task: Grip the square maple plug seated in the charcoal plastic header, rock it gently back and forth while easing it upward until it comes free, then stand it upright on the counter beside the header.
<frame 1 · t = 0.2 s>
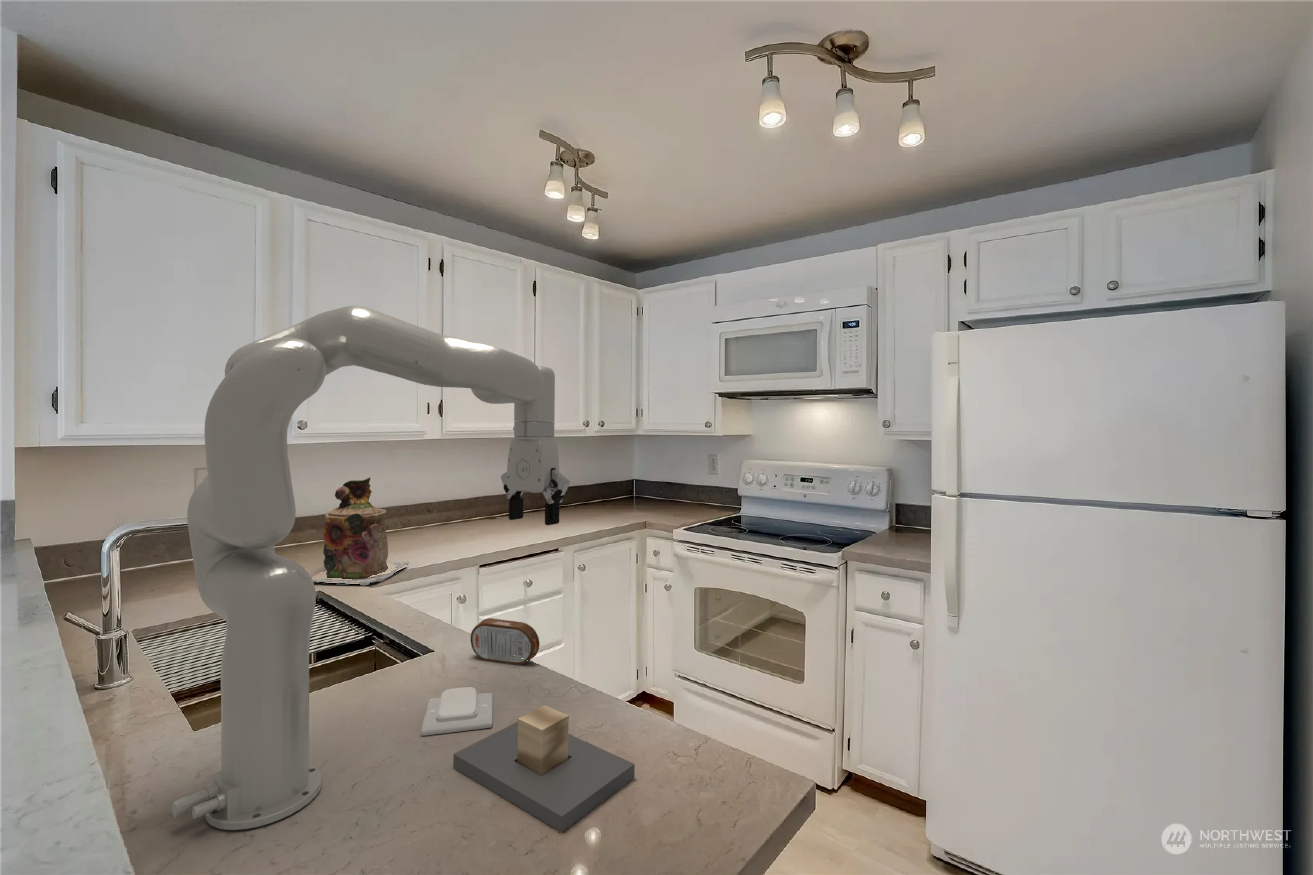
hand: (533, 521, 111), 31 cm above the counter, tool pointing down, fingers open, 9 cm apart
tin: (503, 662, 122), on the counter
cookie jar: (356, 576, 188), on the counter
light switch: (459, 718, 99), on the counter
header: (542, 772, 83), on the counter
plug: (542, 773, 83), resting in header
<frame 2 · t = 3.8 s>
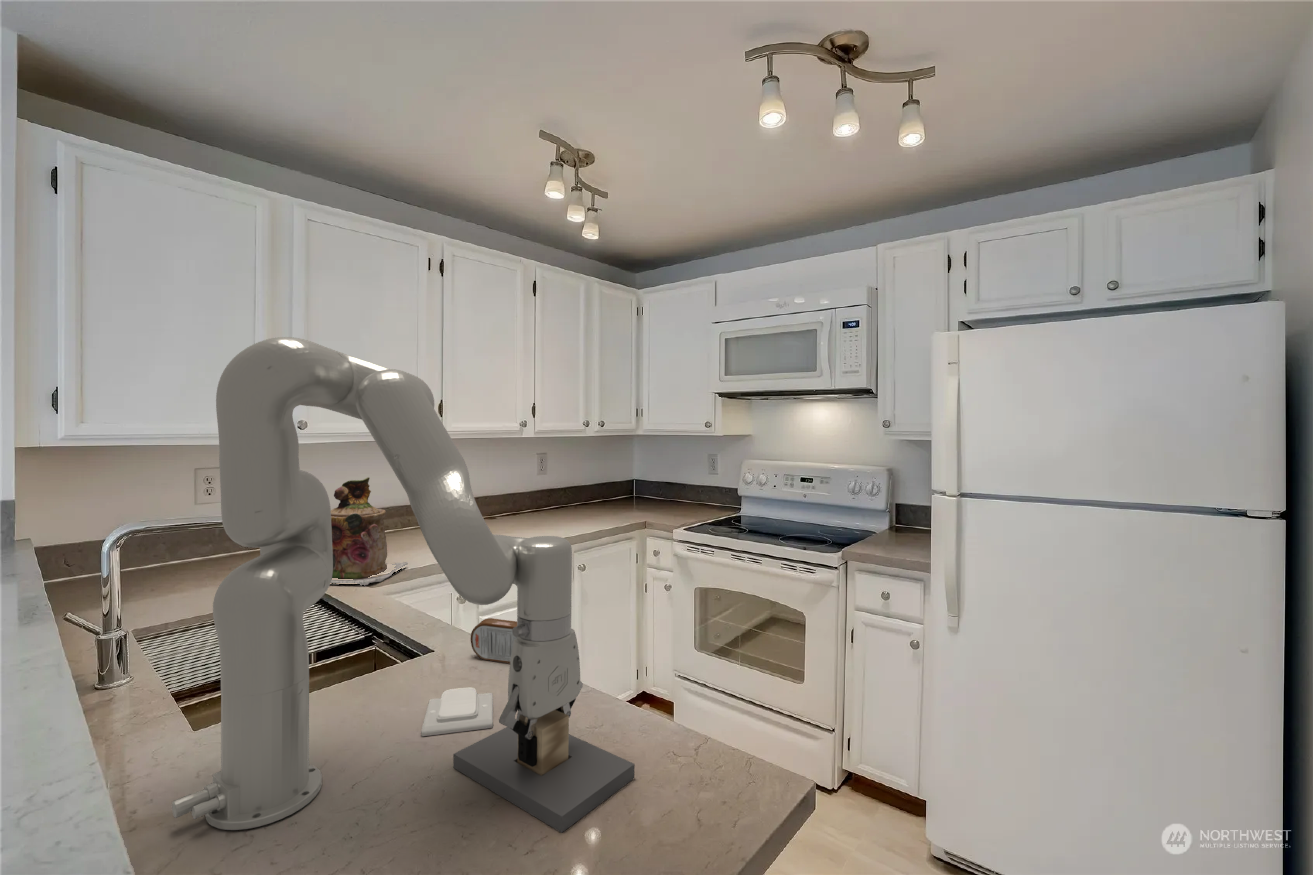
hand: (543, 752, 83), 3 cm above the counter, tool pointing down, fingers closed on plug, 5 cm apart
plug: (542, 772, 83), resting in header, touching gripper
everything else where it was.
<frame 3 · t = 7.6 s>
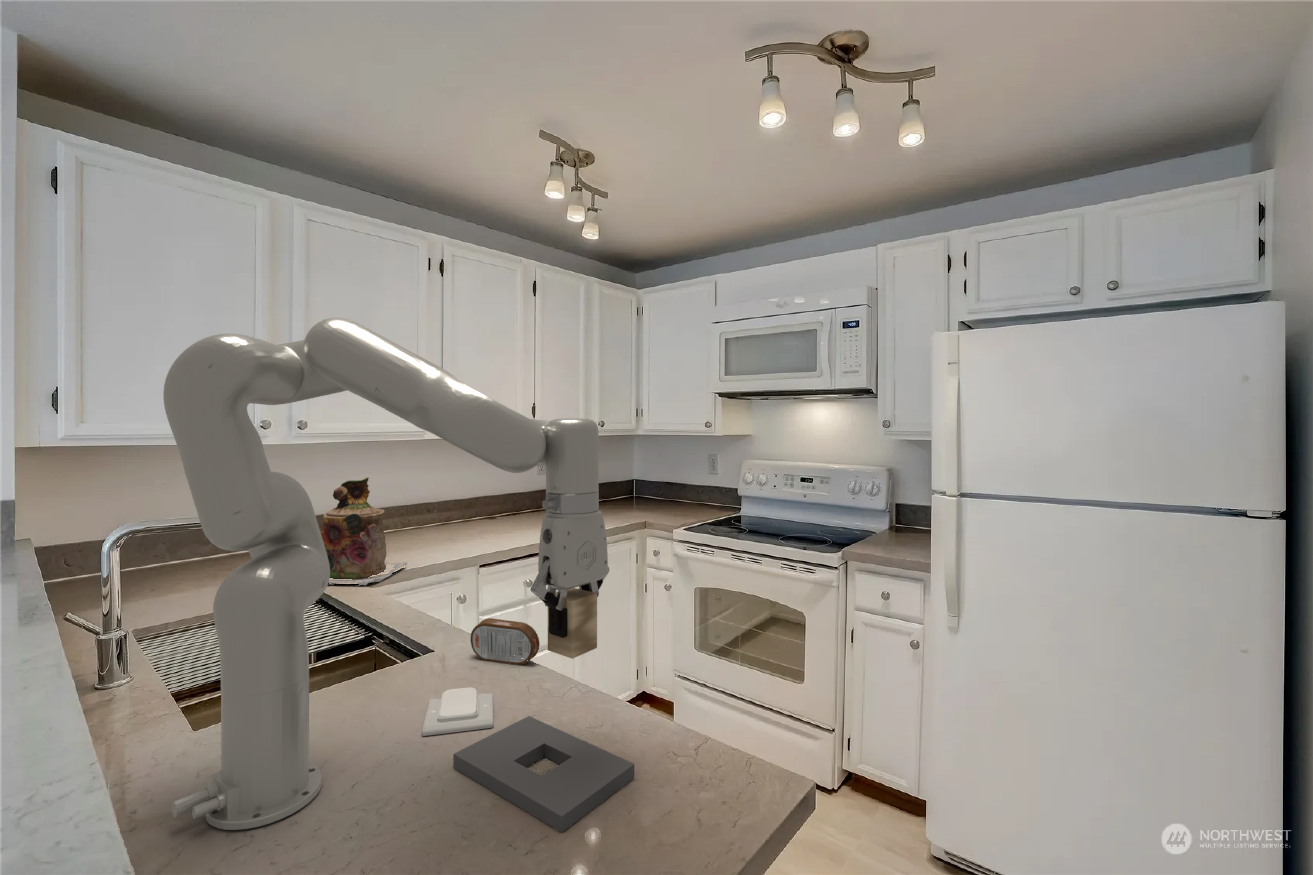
hand: (572, 628, 84), 20 cm above the counter, tool pointing down, fingers closed on plug, 5 cm apart
plug: (572, 649, 84), point 17 cm above the counter, touching gripper
everything else where it was.
when the fingers open (4 cm above the counter, at t = 11.5 s): plug drops 1 cm, on the counter.
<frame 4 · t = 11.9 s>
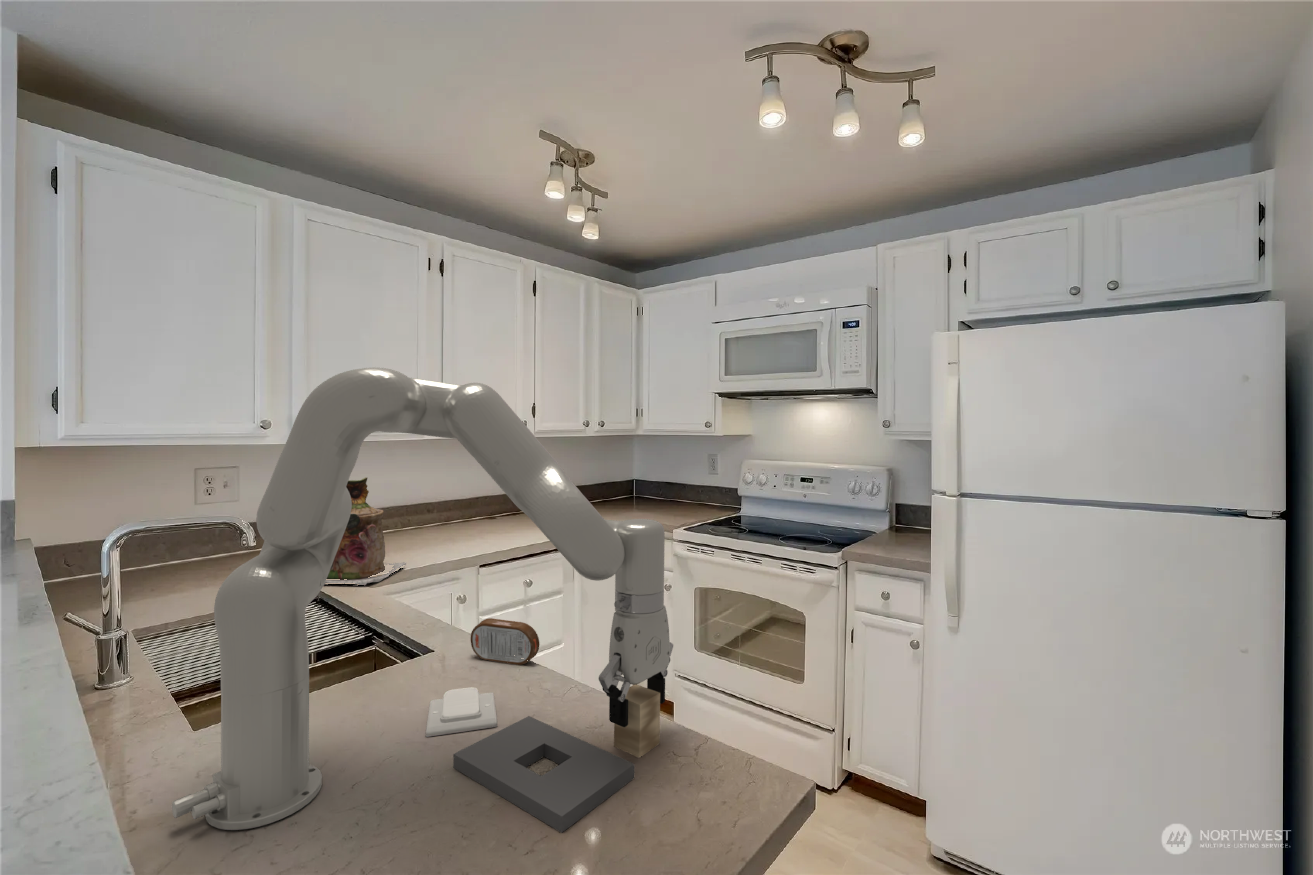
hand: (637, 711, 90), 5 cm above the counter, tool pointing down, fingers open, 8 cm apart
plug: (636, 745, 90), on the counter
everything else where it was.
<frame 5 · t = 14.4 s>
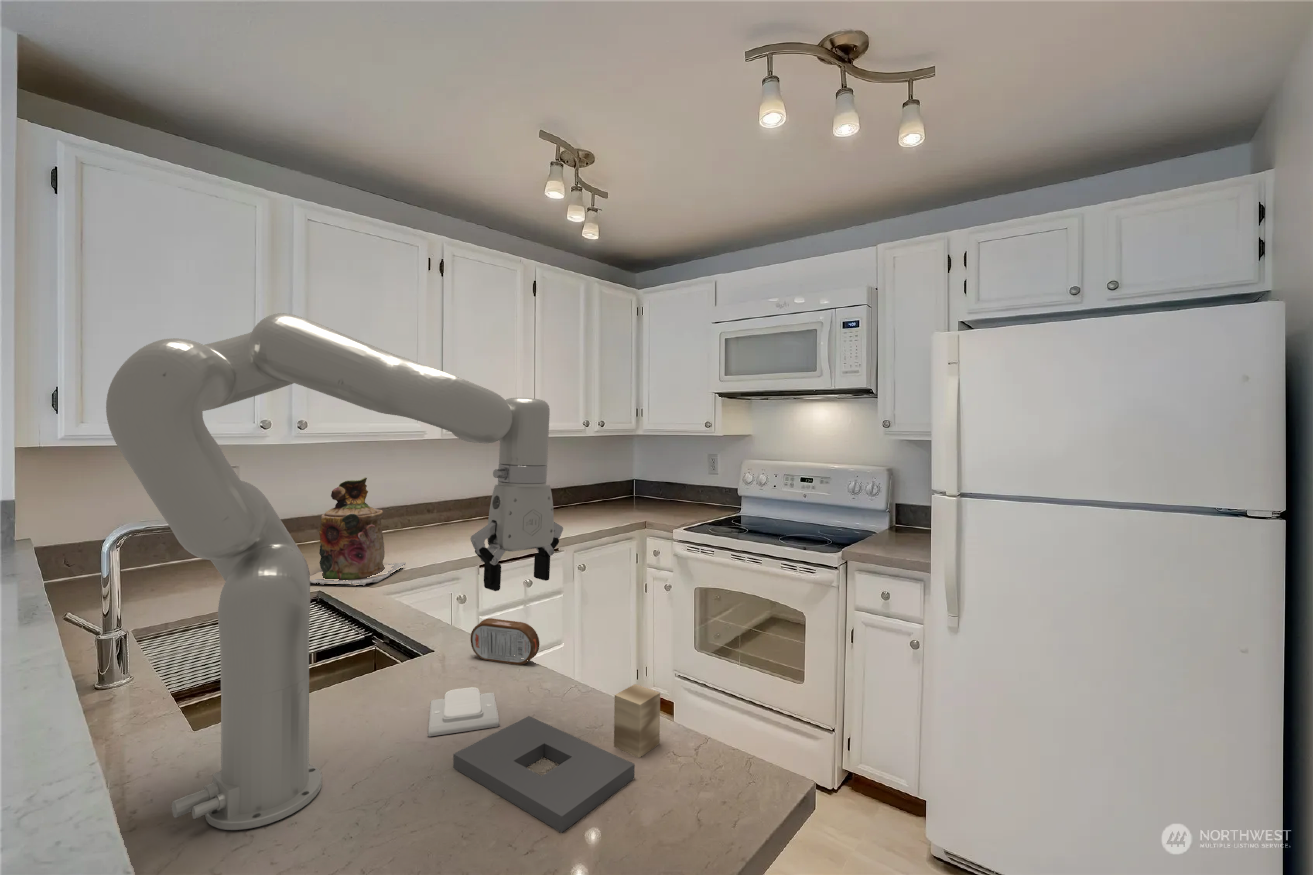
hand: (517, 583, 93), 24 cm above the counter, tool pointing down, fingers open, 9 cm apart
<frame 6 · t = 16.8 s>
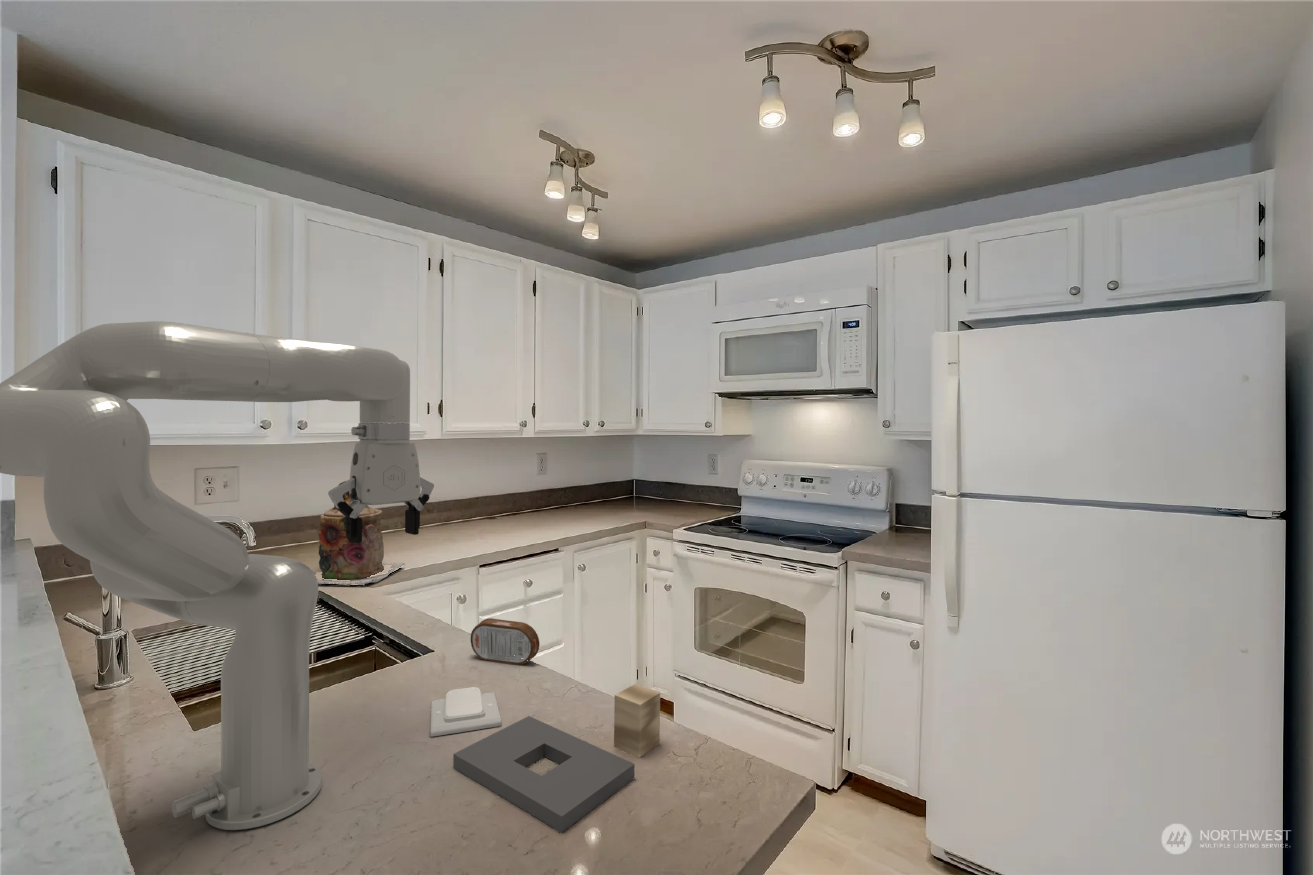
hand: (384, 537, 96), 30 cm above the counter, tool pointing down, fingers open, 9 cm apart
at the end: plug inside the target area (0.1 cm from its centre), on the counter; plug tilted 0°; plug touching counter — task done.
